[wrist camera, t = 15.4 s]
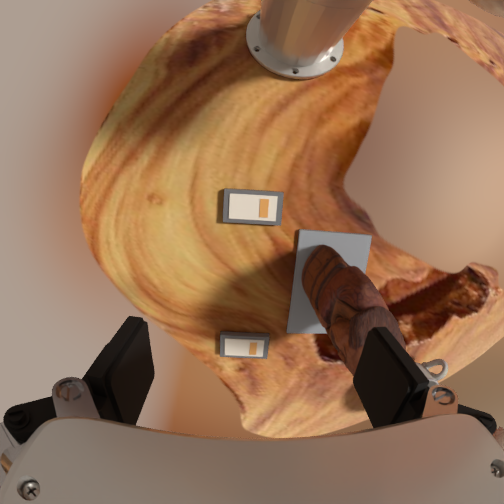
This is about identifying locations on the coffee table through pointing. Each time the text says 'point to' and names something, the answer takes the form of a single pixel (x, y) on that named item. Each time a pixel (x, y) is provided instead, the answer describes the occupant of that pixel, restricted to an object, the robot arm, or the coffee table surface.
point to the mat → (345, 244)
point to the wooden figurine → (345, 303)
